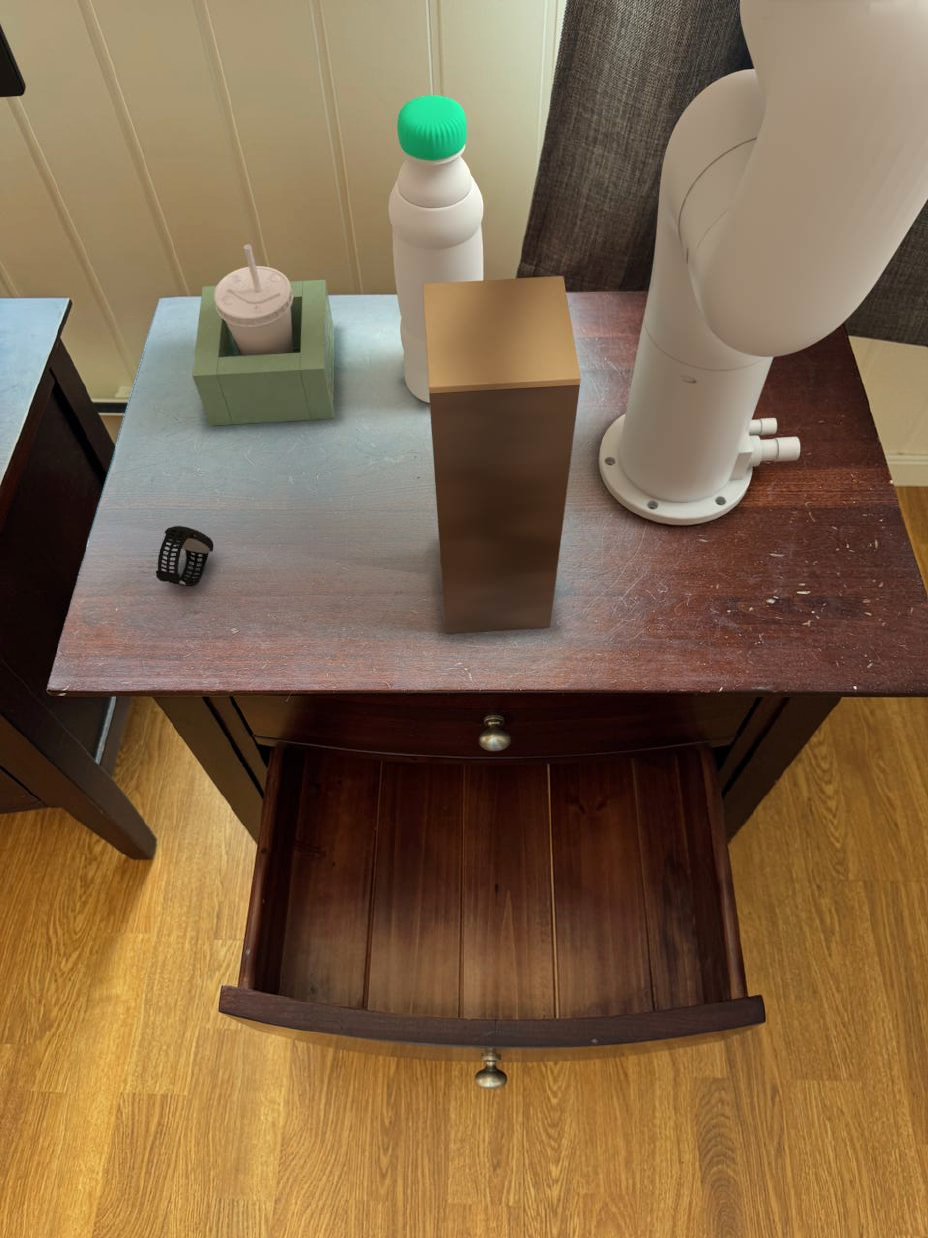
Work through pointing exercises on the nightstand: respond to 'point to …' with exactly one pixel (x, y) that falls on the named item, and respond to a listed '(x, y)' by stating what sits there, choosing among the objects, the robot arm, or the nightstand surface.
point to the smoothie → (257, 308)
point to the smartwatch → (191, 544)
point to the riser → (500, 445)
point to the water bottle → (432, 220)
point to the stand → (268, 365)
